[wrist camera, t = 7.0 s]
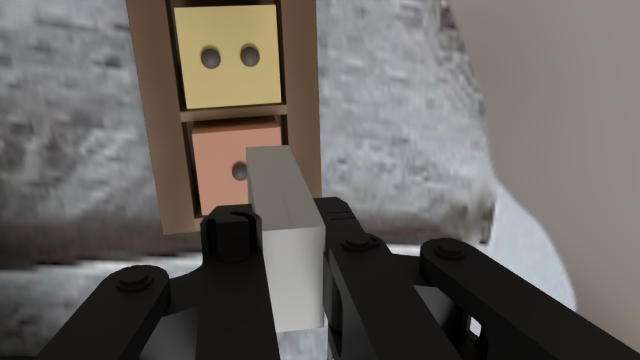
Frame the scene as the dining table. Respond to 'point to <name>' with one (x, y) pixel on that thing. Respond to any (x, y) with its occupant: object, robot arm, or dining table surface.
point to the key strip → (177, 121)
